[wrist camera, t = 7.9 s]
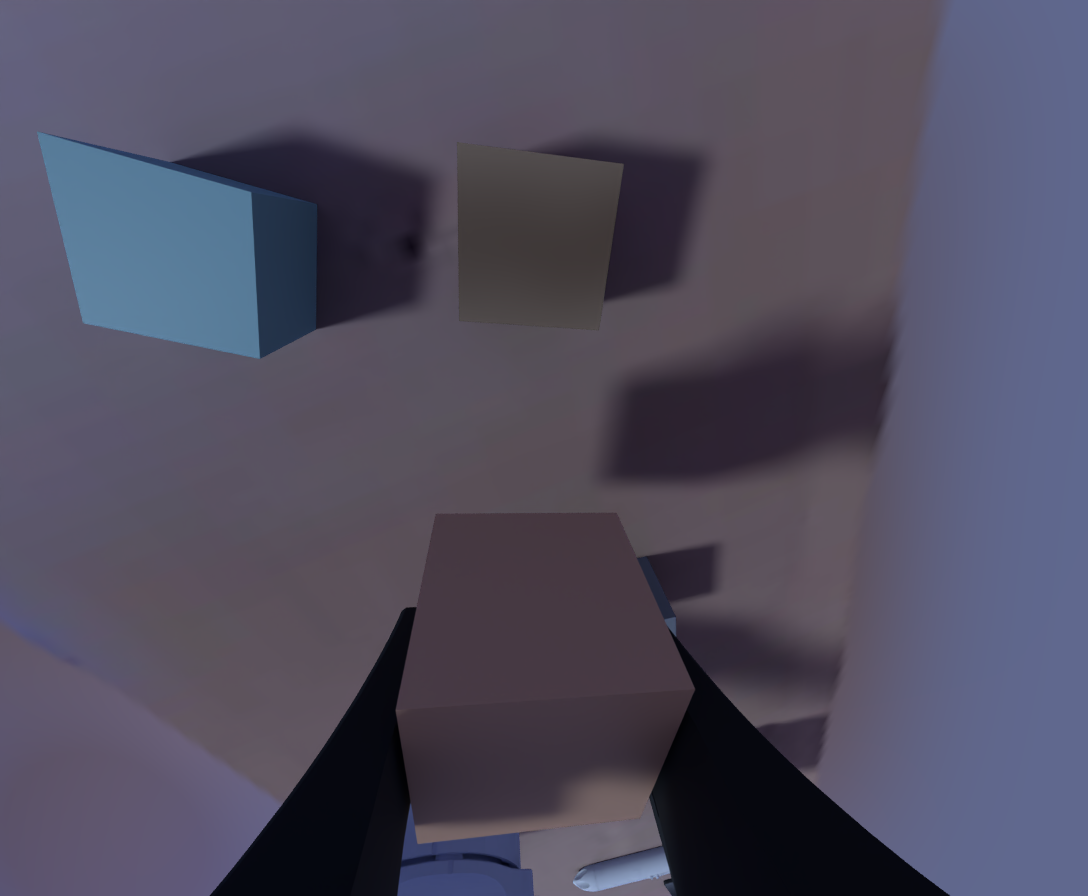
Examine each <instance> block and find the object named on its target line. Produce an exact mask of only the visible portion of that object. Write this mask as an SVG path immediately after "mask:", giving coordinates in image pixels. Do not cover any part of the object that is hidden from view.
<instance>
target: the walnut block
mask: <svg viewBox="0 0 1088 896" xmlns="http://www.w3.org/2000/svg"><path fill="white" fill-rule="evenodd" d="M623 167H624V164H621V163H613V162H605V161H598V160H590V159H582V158H574V157H567V156H559V155H551V154H544V153H536V152H528V151H521V150H513V149H505V148H498V147H490V146H482V145H475V144H467V143H459V142H457V170H458V258H459V321H468V322H483V323H498V324H513V325H527V326H542V327H557V328H571V329H586V330H599V327H600V321H601V314H602V307H603V301H604V294H605V287H606V280H607V274H608V267H609V260H610V254H611V247H612V240H613V234H614V227H615V220H616V214H617V207H618V200H619V193H620V187H621V180H622V173H623Z"/></svg>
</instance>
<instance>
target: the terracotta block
mask: <svg viewBox="0 0 1088 896" xmlns="http://www.w3.org/2000/svg"><path fill="white" fill-rule="evenodd" d="M694 691H695V688H694V685H693V683H692V681H691V679H690V676H689V674H688V672H687V670H686V667H685V665H684V663H683V661H682V658H681V656H680V654H679V652H678V649H677V647H676V645H675V643H674V640H673V638H672V636H671V634H670V631H669V629H668V627H667V625H666V622H665V620H664V618H663V616H662V614H661V611H660V609H659V607H658V605H657V602H656V600H655V598H654V596H653V593H652V591H651V589H650V587H649V584H648V582H647V580H646V578H645V575H644V573H643V571H642V569H641V566H640V564H639V562H638V560H637V557H636V555H635V553H634V551H633V548H632V546H631V544H630V542H629V539H628V537H627V535H626V533H625V530H624V528H623V526H622V524H621V521H620V519H619V517H618V515H617V513H497V514H436V516H435V521H434V525H433V530H432V535H431V540H430V545H429V550H428V555H427V560H426V564H425V569H424V574H423V579H422V584H421V589H420V594H419V599H418V603H417V608H416V613H415V618H414V623H413V628H412V633H411V638H410V643H409V647H408V652H407V657H406V662H405V667H404V672H403V677H402V682H401V686H400V691H399V696H398V701H397V706H396V716H397V722H398V728H399V734H400V740H401V746H402V752H403V758H404V764H405V770H406V777H407V783H408V789H409V795H410V801H411V807H412V813H413V819H414V825H415V832H416V838H417V844H423V843H432V842H440V841H449V840H458V839H466V838H475V837H484V836H492V835H501V834H510V833H518V832H527V831H536V830H544V829H553V828H562V827H570V826H579V825H588V824H596V823H605V822H614V821H622V820H631V819H640V818H641V815H642V813H643V811H644V808H645V806H646V804H647V801H648V799H649V796H650V794H651V792H652V789H653V787H654V785H655V782H656V780H657V778H658V775H659V773H660V771H661V768H662V766H663V764H664V761H665V759H666V757H667V754H668V752H669V749H670V747H671V745H672V742H673V740H674V738H675V735H676V733H677V731H678V728H679V726H680V724H681V721H682V719H683V717H684V714H685V712H686V710H687V707H688V705H689V703H690V700H691V698H692V695H693V693H694Z"/></svg>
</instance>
